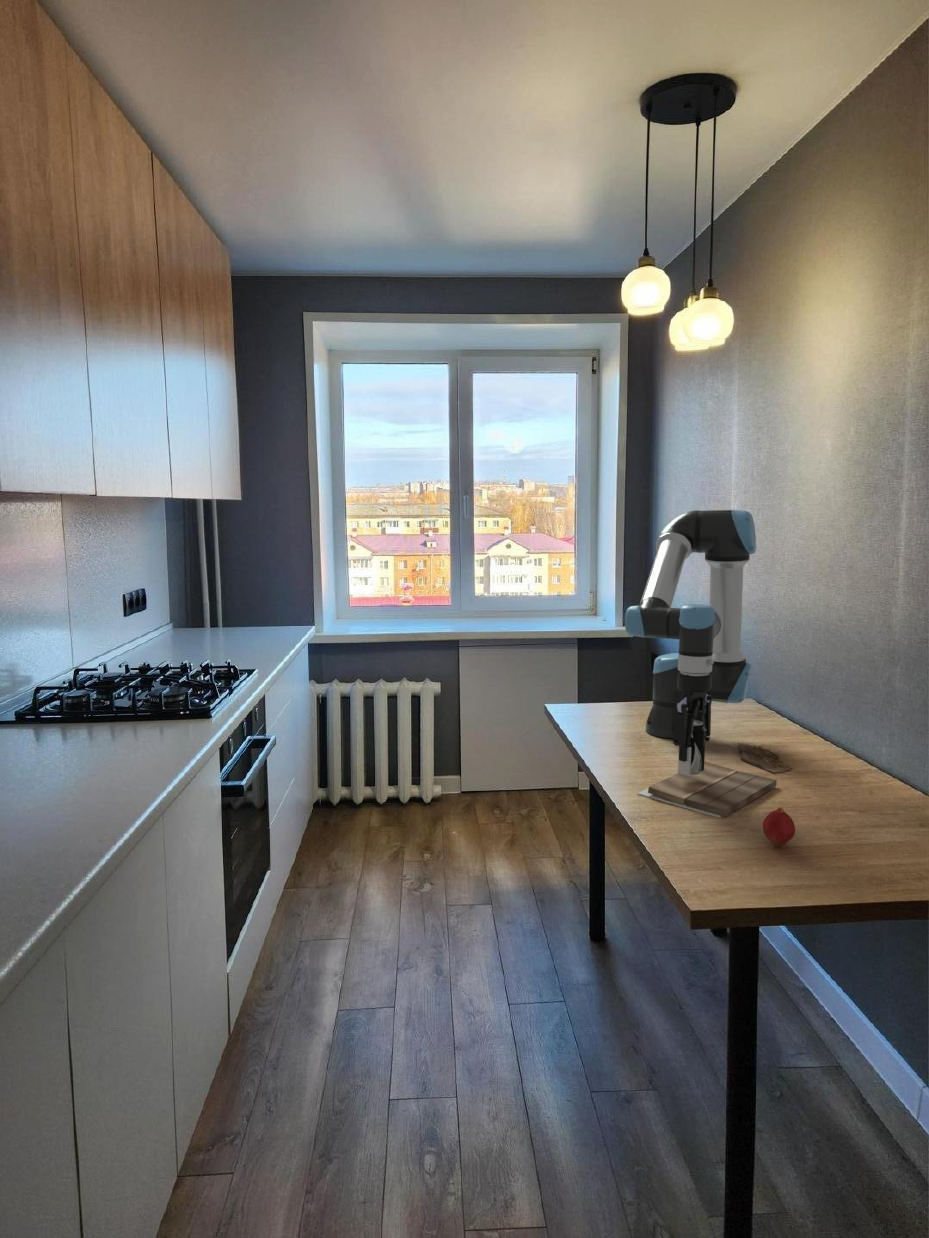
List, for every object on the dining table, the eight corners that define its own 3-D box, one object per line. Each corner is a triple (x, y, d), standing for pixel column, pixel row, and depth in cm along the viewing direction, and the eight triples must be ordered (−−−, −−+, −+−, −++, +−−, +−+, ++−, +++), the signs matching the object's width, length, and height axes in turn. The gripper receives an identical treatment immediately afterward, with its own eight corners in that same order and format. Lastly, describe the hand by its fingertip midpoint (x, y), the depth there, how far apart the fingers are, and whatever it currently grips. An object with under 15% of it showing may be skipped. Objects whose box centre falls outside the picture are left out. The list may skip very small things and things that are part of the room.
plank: (703, 766, 193) (704, 760, 193) (737, 776, 187) (738, 770, 187) (648, 792, 175) (648, 786, 175) (684, 805, 169) (684, 798, 168)
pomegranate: (756, 840, 151) (758, 801, 150) (784, 839, 151) (786, 800, 150) (770, 853, 145) (772, 812, 144) (799, 852, 146) (802, 811, 145)
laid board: (739, 777, 187) (739, 770, 186) (776, 786, 180) (776, 779, 180) (685, 805, 168) (685, 798, 168) (724, 816, 162) (725, 809, 162)
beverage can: (672, 770, 180) (674, 720, 178) (690, 766, 183) (692, 717, 181) (691, 777, 175) (693, 726, 173) (709, 773, 178) (711, 722, 176)
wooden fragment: (798, 775, 190) (798, 771, 190) (752, 774, 190) (753, 770, 190) (764, 744, 215) (764, 741, 215) (724, 744, 216) (724, 740, 216)
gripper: (689, 681, 167) (685, 784, 170) (729, 669, 180) (725, 765, 183) (658, 676, 172) (655, 776, 175) (699, 664, 185) (695, 758, 188)
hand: (691, 770), depth 179 cm, fingers closed on beverage can, 6 cm apart
